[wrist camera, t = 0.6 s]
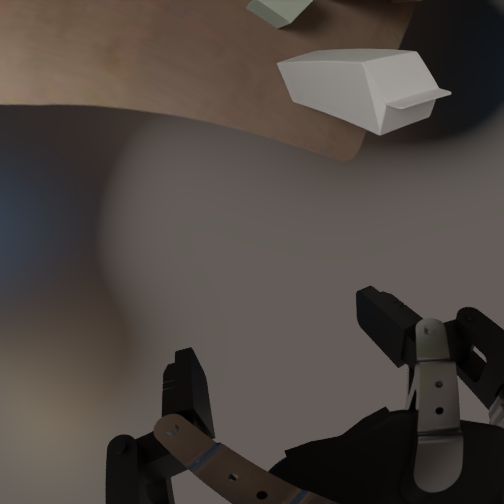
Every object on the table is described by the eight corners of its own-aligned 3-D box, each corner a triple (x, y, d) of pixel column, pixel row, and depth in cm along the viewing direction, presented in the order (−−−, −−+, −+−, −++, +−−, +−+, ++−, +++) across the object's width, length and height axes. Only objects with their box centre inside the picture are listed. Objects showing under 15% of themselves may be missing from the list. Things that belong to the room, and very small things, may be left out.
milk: (275, 63, 28) (388, 62, 11) (316, 50, 28) (446, 53, 11) (292, 102, 32) (406, 150, 15) (330, 89, 32) (457, 128, 15)
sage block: (245, 7, 23) (254, -2, 19) (268, -16, 21) (280, -27, 17) (277, 28, 25) (290, 23, 22) (298, 5, 24) (315, -2, 20)
